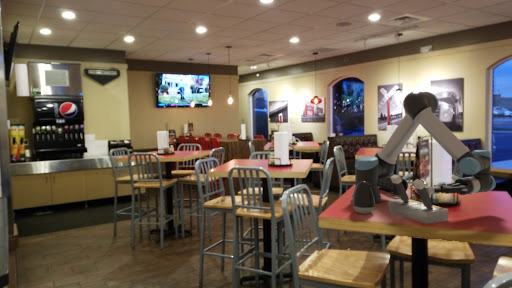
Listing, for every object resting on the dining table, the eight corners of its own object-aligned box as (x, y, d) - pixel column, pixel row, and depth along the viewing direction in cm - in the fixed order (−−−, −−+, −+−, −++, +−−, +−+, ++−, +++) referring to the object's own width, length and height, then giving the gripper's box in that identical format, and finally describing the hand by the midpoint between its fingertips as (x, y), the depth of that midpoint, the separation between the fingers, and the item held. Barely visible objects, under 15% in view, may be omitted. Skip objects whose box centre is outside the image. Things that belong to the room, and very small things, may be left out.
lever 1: (401, 202, 183) (390, 177, 180) (405, 199, 184) (394, 174, 181) (407, 204, 180) (395, 178, 177) (411, 201, 181) (399, 175, 177)
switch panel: (389, 212, 184) (389, 201, 184) (408, 209, 189) (408, 198, 188) (426, 224, 163) (427, 211, 163) (448, 220, 167) (448, 208, 167)
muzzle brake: (392, 196, 219) (392, 178, 218) (371, 187, 247) (371, 171, 246) (408, 195, 220) (408, 177, 220) (385, 186, 248) (385, 170, 247)
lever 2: (424, 209, 170) (412, 182, 167) (428, 205, 171) (416, 179, 168) (431, 210, 167) (418, 183, 164) (435, 207, 168) (423, 180, 164)
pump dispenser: (371, 216, 177) (371, 183, 176) (349, 213, 183) (349, 181, 182) (377, 211, 186) (378, 180, 185) (356, 209, 191) (356, 178, 190)
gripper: (479, 196, 170) (440, 202, 161) (453, 191, 182) (415, 197, 173) (479, 179, 170) (440, 184, 161) (453, 175, 182) (415, 180, 173)
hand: (427, 191), depth 167 cm, fingers closed
